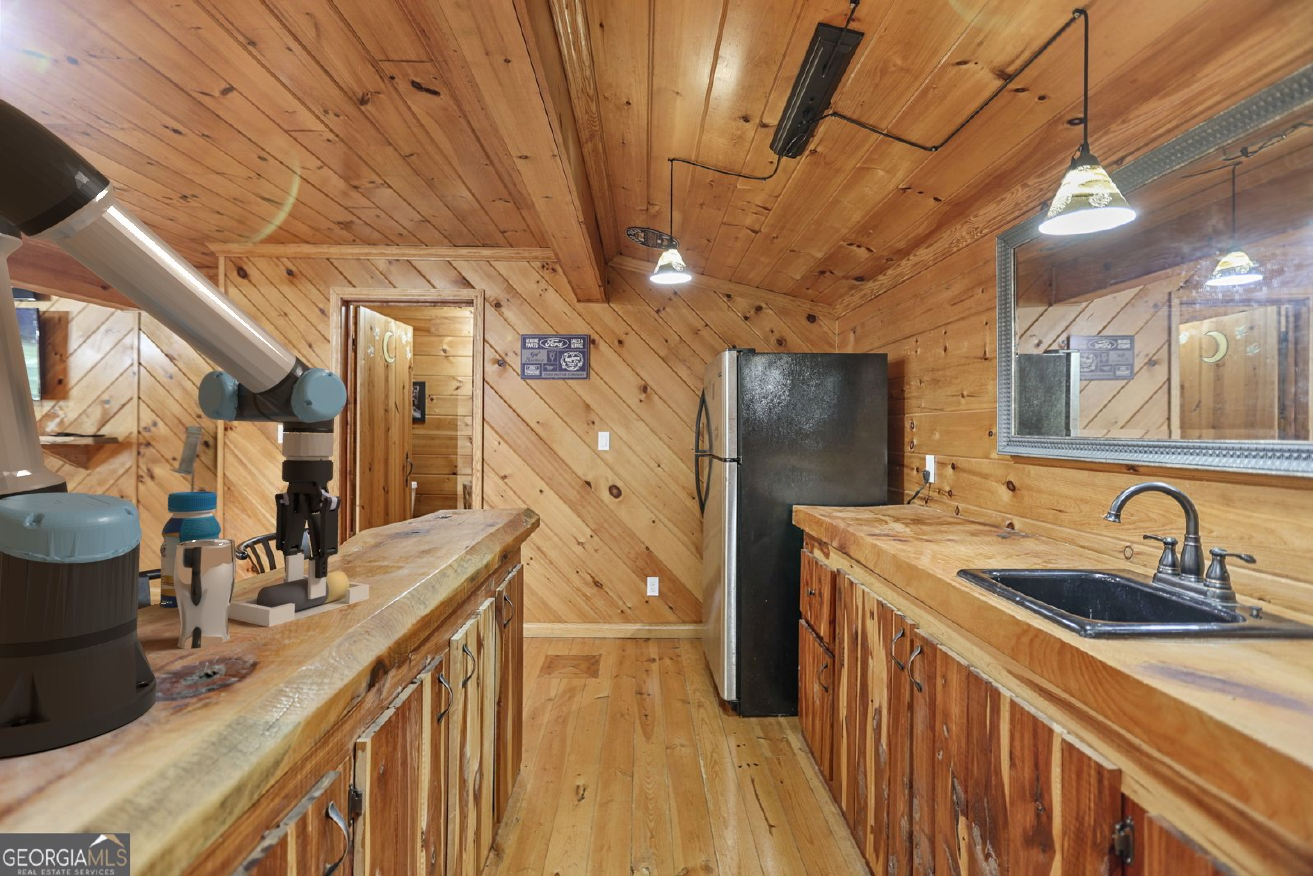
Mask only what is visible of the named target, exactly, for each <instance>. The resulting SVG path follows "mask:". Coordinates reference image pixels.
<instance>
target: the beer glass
mask: <svg viewBox="0 0 1313 876" xmlns="http://www.w3.org/2000/svg"><path fill="white" fill-rule="evenodd" d="M236 575H237V555H236V540H235V539H232V538H219V539H202V540H193V541H187V542H182V543H179V544H177V550H176V558H175V567H174V587H175V594H176V599H177V604H178V608H177V609H178V613H179V619H180V630H179V631H180V633H179V637H178V641H177V644H176V645H177V647H178V648H180V649H186V650H191V649H192V650H193V649H202V648H208V647H212V646H217V645H221V644H223V643H225V642H228V641H229V640H230V638H231V635H230V631H229V622H228V621H229V618H228V612H229V607H230V603H231V600H233V599H232V598H233V593H234V590H235V589H234V588H235V584H236V577H237V576H236Z"/></svg>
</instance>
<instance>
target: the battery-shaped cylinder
mask: <svg viewBox="0 0 1313 876" xmlns="http://www.w3.org/2000/svg"><path fill="white" fill-rule="evenodd" d="M349 582H350V581H349V578H348V576H347V575H346V573H345V572H344V571H341V570H336V571H332V572H327V577H326V595H325V596H321V597H317V598H313V599H308V578H304V579H299V580H295V581H290V582H285V583H284V582H282V583H277V584H273V585H267V586H263V587H262V588H260V590H258V593H257V595H256V597H257V605H260V606H265V607H270V608H273V607H277V606H281V605H285V604H289V603H293V604H295V611H298V610H302V609H305V608H309V607H313V606H316V605H320V604H324V603H328V602H331V601H335V600H339V599H342V598H344V597H346V589H348V588H349Z"/></svg>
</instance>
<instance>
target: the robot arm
mask: <svg viewBox="0 0 1313 876" xmlns="http://www.w3.org/2000/svg"><path fill="white" fill-rule="evenodd" d="M22 234H24V235H25V236H26V237H27V238H29V239H30V240H36V241H37V240H38V241H47V242H51V243H53V244H54V245H56V246H57V247H58V248H60V249H61V250H62V251H63V252H64V253H66V254H68V256H70V257H72V258H73V259H74V260H75V261H77V262H78V263H80V264H81V266H82V265H83V267H85V268H86V269H88V270H89V271H90V272H92V273H93V274H94V275H96V276H97V277H98V278H99V279H101V280H102V281H104V283H107V284H108V286H110V287H111V288H112V289H114V290H115V291H117V292H118V293H119V294H121V295H122V296H123V297H125V298H126V299H127V300H129V301H130V302H132V303H133V304H134V305H136V306H137V307H138V308H139V309H141V310H142V311H143V312H145V313H147V314H148V315H149V316H150V317H152V318H153V319H154V320H156V321H157V322H159V324H161V325H163V326H164V327H165V328H167V330H169V331H170V332H172V333H173V334H174V335H176V336H177V337H178V338H180V339H181V340H183V342H185V343H186V344H188V345H189V346H191V347H192V348H193V349H194V350H195V351H197V352H198V353H200V354H201V355H202V356H204V357H205V358H206V359H208V360H209V361H211V363H213V364H214V365H216V366H217V367H218V368H219V369H221V370H219V369H218V370H212V371H209V372H208V373H206V374H205V375H204V376H203V378H202V379H201V381H200V383H199V386H198V391H197V392H198V396H197V397H198V405H199V408H200V410H201V412H202V413H203V415H205V417H207V418H208V419H211V420H214V421H226V422H228V423H231V422H232V423H233V422H245V423H246V422H247V423H248V422H250V423H251V422H252V423H281V424H282V446H281V455H282V456H283V457H284V458H286V459H284V460H283V461H282V462H281V480H282V481H283V482H285V483H288V484H287V489H286V491H285V492H283V493H282V492H281V493H280V492H279V493H276V494H274V501H275V505H276V520H275V521H276V523H275V550H276V551H279V552H282V555H283V556H284V572H285V573H284V574H285V577H284V579H285V582H290V581H295V580H299V579H303V576H304V573H305V572H304V568H305V563H304V562H305V553H304V552H305V550H304V549H303V548H302V546H303V541H304V540H303V539H304V535H305V531H306V524H307V530H308V536H309V544H310V550H311V556H310V557H307V558H308V561H307V562H308V565H307V570H308V571H307V575H308V599H313V598H317V597H321V596H325V595H326V577H327V573H328V565H329V564H328V563H329V562H328V561H329V558H330V557H331V556H334V555H338V553H339V510H340V507H341V503H342V498H341V496H339V495H338V496H333V495H332V494H330V490H329V488H328V483H329V482H331V481H332V480H333V479H334V461H333V460H332V459H330V457H333V455H334V433H335V432H334V431H335V418H336V417H337V416H339V415H340V414H341V412H342V411H343V409H344V408H345V406H346V403H347V395H348V394H347V389H346V386H345V384H344V382H343V380H342V379H341V377H340V376H339V375H337V373H334V372H333V371H331V370H329V369H326V368H320V367H310V366H309V365H308V364H306V363H305V362H304V361H303V360H302V359H301V358H299V357H298V356H297V355H296V354H295V353H294V352H292V351H291V350H290V349H289V348H288V347H286V346H285V345H284V344H283V342H281V341H280V340H278V339H277V338H276V337H275V336H274V335H273V334H271V333H270V332H269V330H267V329H266V328H265V327H263V326H262V324H260V323H259V322H258V321H257V320H256V319H255V318H253V317H252V316H251V315H250V314H248V313H247V312H246V311H245V310H244V309H243V308H242V307H241V306H239V305H238V304H237V303H236V302H235V301H234V300H232V299H231V298H230V297H229V296H228V295H227V294H226V293H224V291H222V290H221V289H220V288H219V287H218V286H216V285H215V284H214V283H213V281H211V280H209V278H207V276H205V275H204V274H203V273H202V272H200V271H199V270H198V269H197V268H196V267H195V266H193V265H192V263H190V261H187V260H186V259H185V258H184V257H183V256H182V255H181V254H180V253H179V252H177V251H176V250H175V248H173V247H172V246H170V244H168V243H167V242H166V241H164V239H162V238H161V237H160V236H159V235H158V234H157V233H155V232H154V230H152V229H151V228H149V227H148V225H146V224H145V223H144V222H143V221H142V220H141V219H139V218H138V216H136V215H135V214H134V213H132V212H131V210H129V209H128V208H127V207H126V206H124V204H123V203H121V202H120V201H119V200H118V199H117V198H116V197H115V192H114V184H113V182H112V181H111V180H109V179H108V178H107V177H106V175H104V174H103V173H102V172H101V171H99V169H97V168H96V167H95V166H94V165H92V163H91V162H89V160H87V159H86V158H85V157H84V156H82V154H80V153H79V152H78V151H76V149H74V148H73V147H71V146H70V145H69V144H68V143H66V141H64V140H63V139H62V138H60V137H59V136H58V135H57V134H55V133H54V132H53V131H51V130H50V129H49V128H47V127H46V126H45V125H43V124H41V122H39V121H38V120H36V119H34V118H33V117H31V116H30V115H28V114H27V113H25V112H24V111H22V110H21V109H19V108H17V107H16V106H14V105H12V104H11V103H9V102H7V101H6V100H4V99H2V98H0V757H1V758H2V757H10V756H19V755H25V754H31V753H36V752H40V751H45V750H51V749H54V748H59V747H62V746H66V745H70V744H74V743H76V742H80V741H84V740H86V739H90V738H93V737H96V736H99V735H102V734H104V733H107V732H110V731H112V730H114V729H117V728H119V727H122V726H123V725H126V724H128V723H130V722H132V721H134V720H136V719H137V718H140V717H141V716H143V715H144V714H146V713H147V712H148V711H149V710H151V709H152V707H153V706H154V705H155V704H156V702H157V685H158V684H157V679H156V675H155V673H154V671H153V669H152V666H151V663H150V661H149V660H148V657H147V655H146V652H145V650H144V647H143V646H142V645H143V644H142V643H141V641H140V638H139V636H138V611H139V609H138V607H139V584H140V583H139V582H140V581H139V580H140V579H139V578H140V559H141V557H140V556H141V555H140V553H141V540H142V537H143V536H142V534H143V532H142V531H143V529H142V527H141V525H140V523H141V522H140V512H139V509H138V508H137V506H136V505H135V504H134V503H133V502H131V501H130V500H128V499H125V498H123V497H119V496H114V495H110V494H109V495H107V494H100V493H99V494H98V493H97V494H93V493H92V494H91V493H86V492H69V489H68V485H67V481H66V480H67V479H66V477H65V476H63V475H61V474H59V473H57V472H56V471H53V470H52V469H49V468H48V467H47V466H46V464H45V459H44V456H43V455H44V454H43V449H42V444H41V439H40V438H41V437H40V435H39V433H40V432H39V427H38V422H37V418H36V412H35V406H34V402H33V394H32V390H31V386H30V385H31V384H30V379H29V374H28V373H29V372H28V369H27V364H26V358H25V354H24V353H25V352H24V346H23V343H22V342H23V341H22V337H21V333H20V332H21V331H20V327H19V325H20V324H19V321H18V315H17V309H16V304H15V298H14V293H13V288H12V282H11V279H10V278H11V277H10V273H9V272H10V271H9V267H8V262H7V259H8V258H9V256H10V255H12V254H13V253H14V252H15V251H17V250H18V249H20V248H21V247H22V246H23V245H24V243H23V237H22Z"/></svg>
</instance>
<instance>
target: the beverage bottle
mask: <svg viewBox="0 0 1313 876" xmlns="http://www.w3.org/2000/svg"><path fill="white" fill-rule="evenodd" d="M217 502H218V495H217V492H215V491H209V490H208V491H205V490H204V491H203V490H201V491H198V490H197V491H181V492H180V491H179V492H178V491H177V492H171V493H169V494H168V497H167V511H168V513H169V514H172V515H171V517H170V518H169V519H168V520H167V521H166V523H165V525H163V528H162V530H161V537H162V538H163V542H162V543H161V545H160V548H159V551H160V552H159V553H160V599H159V600H160V601H159V607H161V608H167V609H176V608H177V609H178V604H177V599H176V594H175V587H174V567H175V558H176V550H177V544H179V543H182V542H187V541H193V540H202V539H220V537H219V536H220V534H221V532H222V528H221V523H219V520H218V519H217V517H216V516H215V515H214V514H213V513H212V512H214V511H216V510H217V507H218V506H217V505H218V503H217ZM167 602H168V603H167ZM161 603H166V604H161Z"/></svg>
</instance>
